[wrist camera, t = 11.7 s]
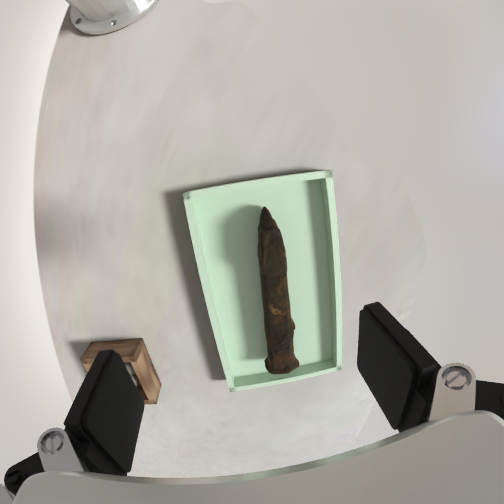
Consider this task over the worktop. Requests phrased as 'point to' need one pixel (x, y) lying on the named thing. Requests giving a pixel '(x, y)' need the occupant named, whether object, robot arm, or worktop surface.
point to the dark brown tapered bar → (275, 297)
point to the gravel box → (130, 364)
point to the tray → (248, 272)
